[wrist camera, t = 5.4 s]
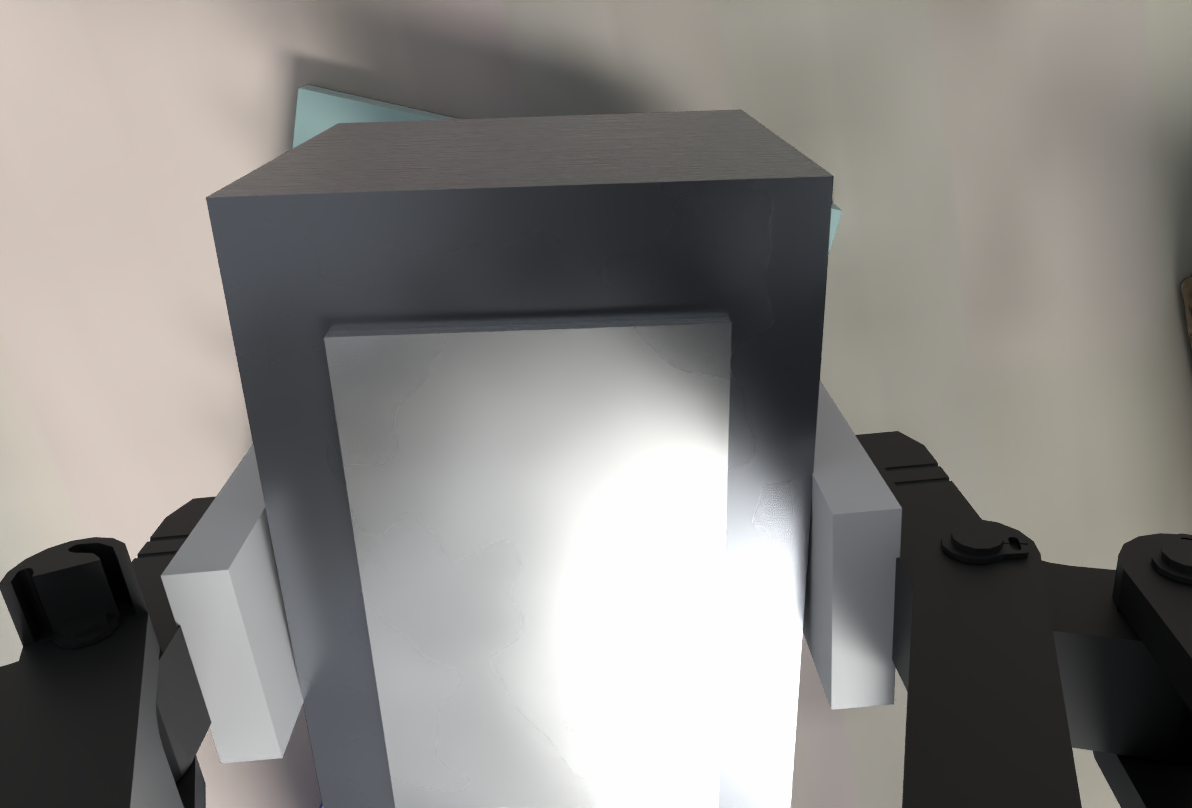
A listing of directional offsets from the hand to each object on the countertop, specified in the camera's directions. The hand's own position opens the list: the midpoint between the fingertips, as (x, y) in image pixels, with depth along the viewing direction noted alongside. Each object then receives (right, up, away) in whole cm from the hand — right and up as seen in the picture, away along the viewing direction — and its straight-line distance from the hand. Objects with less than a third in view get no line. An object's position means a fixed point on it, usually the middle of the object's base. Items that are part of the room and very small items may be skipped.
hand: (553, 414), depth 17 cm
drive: (0, 0, +1) cm, 1 cm away
